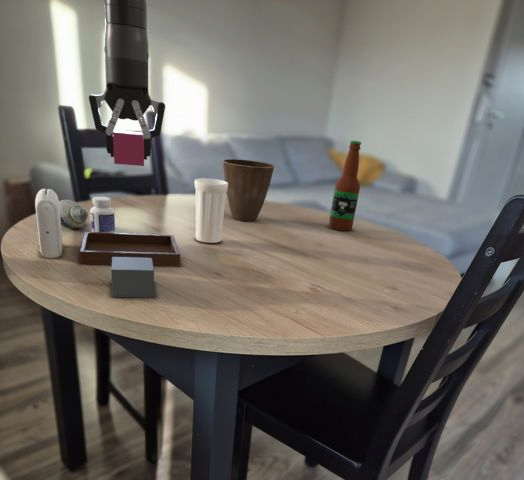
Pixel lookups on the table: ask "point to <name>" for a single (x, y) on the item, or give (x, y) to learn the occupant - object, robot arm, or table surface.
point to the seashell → (72, 214)
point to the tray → (128, 248)
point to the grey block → (132, 277)
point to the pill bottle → (102, 215)
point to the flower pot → (246, 187)
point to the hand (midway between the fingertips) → (128, 157)
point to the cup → (210, 209)
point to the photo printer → (48, 223)
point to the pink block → (128, 147)
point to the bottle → (346, 192)
